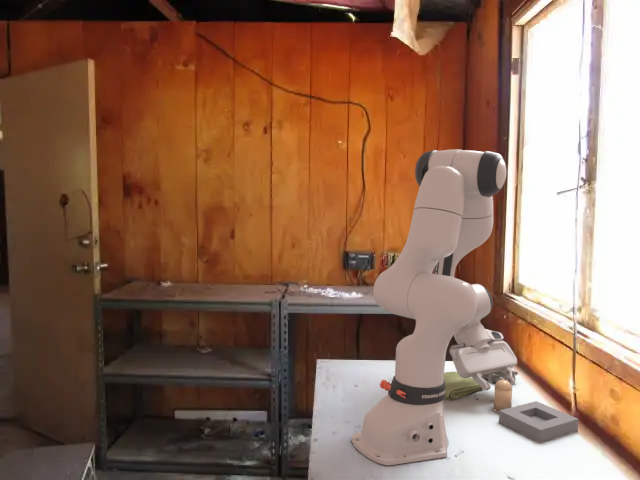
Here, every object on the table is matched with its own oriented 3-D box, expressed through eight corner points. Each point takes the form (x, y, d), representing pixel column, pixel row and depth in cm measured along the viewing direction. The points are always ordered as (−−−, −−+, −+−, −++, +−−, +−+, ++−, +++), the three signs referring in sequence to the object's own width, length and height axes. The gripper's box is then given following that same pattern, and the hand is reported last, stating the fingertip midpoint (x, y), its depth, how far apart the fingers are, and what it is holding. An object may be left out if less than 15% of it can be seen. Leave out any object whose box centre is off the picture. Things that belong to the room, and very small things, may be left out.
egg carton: (519, 385, 152) (520, 372, 152) (499, 388, 149) (500, 375, 149) (495, 373, 162) (496, 361, 162) (476, 376, 159) (477, 363, 159)
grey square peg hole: (540, 442, 114) (540, 430, 114) (498, 422, 125) (499, 410, 125) (577, 430, 121) (578, 418, 121) (535, 412, 132) (536, 401, 131)
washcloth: (488, 390, 148) (488, 379, 147) (450, 403, 137) (451, 392, 137) (452, 377, 158) (453, 367, 158) (415, 388, 148) (415, 377, 147)
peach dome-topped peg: (503, 414, 130) (504, 384, 129) (490, 408, 133) (491, 378, 133) (514, 411, 132) (516, 381, 131) (501, 405, 136) (503, 376, 135)
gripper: (453, 340, 134) (478, 387, 126) (505, 332, 144) (532, 375, 136) (441, 352, 138) (465, 398, 130) (492, 343, 148) (517, 386, 140)
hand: (499, 386), depth 133 cm, fingers open, 8 cm apart
